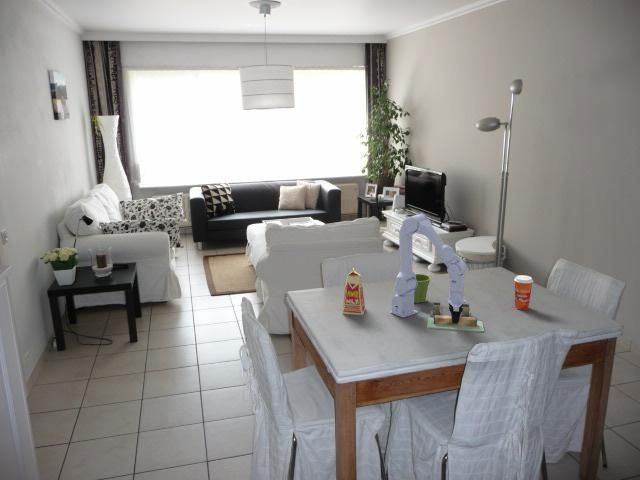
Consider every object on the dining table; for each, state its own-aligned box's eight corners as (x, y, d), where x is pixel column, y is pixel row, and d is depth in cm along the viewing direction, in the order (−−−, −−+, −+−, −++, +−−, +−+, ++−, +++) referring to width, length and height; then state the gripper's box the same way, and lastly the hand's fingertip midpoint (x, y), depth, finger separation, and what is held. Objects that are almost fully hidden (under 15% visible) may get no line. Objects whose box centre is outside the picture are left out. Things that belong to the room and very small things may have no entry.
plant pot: (428, 296, 251) (429, 273, 248) (431, 305, 240) (432, 281, 237) (403, 296, 252) (404, 273, 250) (405, 304, 241) (405, 281, 238)
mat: (427, 328, 215) (427, 326, 214) (427, 319, 224) (428, 317, 224) (483, 332, 210) (483, 330, 210) (482, 322, 219) (482, 321, 219)
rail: (433, 323, 217) (433, 317, 217) (433, 321, 220) (433, 314, 219) (476, 326, 213) (477, 320, 213) (476, 324, 216) (476, 317, 215)
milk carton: (362, 315, 230) (362, 271, 225) (341, 314, 232) (341, 270, 227) (365, 307, 238) (365, 265, 234) (345, 306, 240) (344, 264, 236)
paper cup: (511, 309, 233) (513, 278, 229) (513, 303, 239) (515, 274, 236) (530, 312, 229) (532, 281, 226) (532, 306, 236) (534, 276, 232)
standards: (430, 316, 227) (430, 305, 226) (430, 312, 231) (430, 301, 230) (471, 319, 223) (472, 308, 222) (470, 314, 228) (471, 304, 226)
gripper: (467, 296, 205) (465, 329, 209) (466, 284, 219) (464, 315, 222) (448, 295, 207) (447, 328, 210) (448, 284, 221) (447, 314, 224)
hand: (455, 321), depth 216 cm, fingers closed on rail, 3 cm apart
